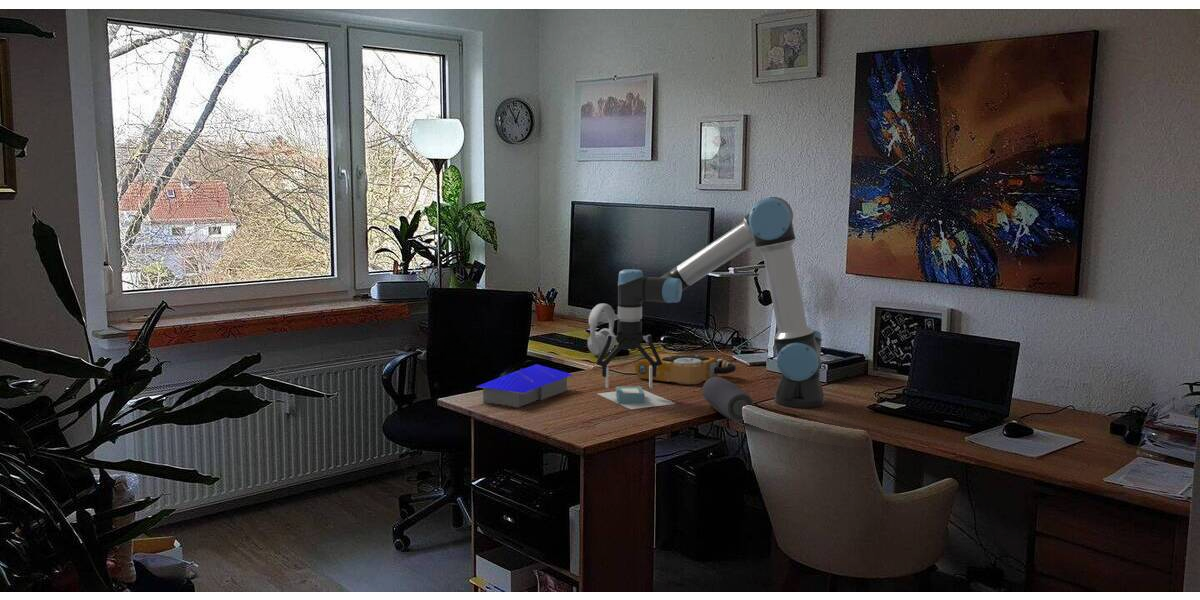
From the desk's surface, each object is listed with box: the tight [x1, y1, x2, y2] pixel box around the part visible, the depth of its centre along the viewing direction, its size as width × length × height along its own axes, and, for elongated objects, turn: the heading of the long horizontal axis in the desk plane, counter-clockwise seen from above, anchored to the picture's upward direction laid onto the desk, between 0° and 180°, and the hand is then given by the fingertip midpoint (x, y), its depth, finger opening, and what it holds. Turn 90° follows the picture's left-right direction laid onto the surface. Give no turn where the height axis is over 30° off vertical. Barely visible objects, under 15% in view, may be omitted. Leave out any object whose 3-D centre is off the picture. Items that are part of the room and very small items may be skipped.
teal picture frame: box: [615, 385, 645, 405], centre depth 303 cm, size 8×3×10 cm
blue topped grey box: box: [475, 363, 574, 408], centre depth 309 cm, size 30×17×9 cm, turn 152°
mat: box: [597, 389, 677, 410], centre depth 305 cm, size 22×16×1 cm
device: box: [634, 353, 737, 385], centre depth 335 cm, size 23×8×30 cm
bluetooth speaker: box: [701, 376, 755, 423], centre depth 286 cm, size 23×9×10 cm, turn 12°
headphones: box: [586, 303, 617, 357], centre depth 375 cm, size 18×8×20 cm, turn 156°
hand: (628, 387), depth 304 cm, fingers open, 13 cm apart
